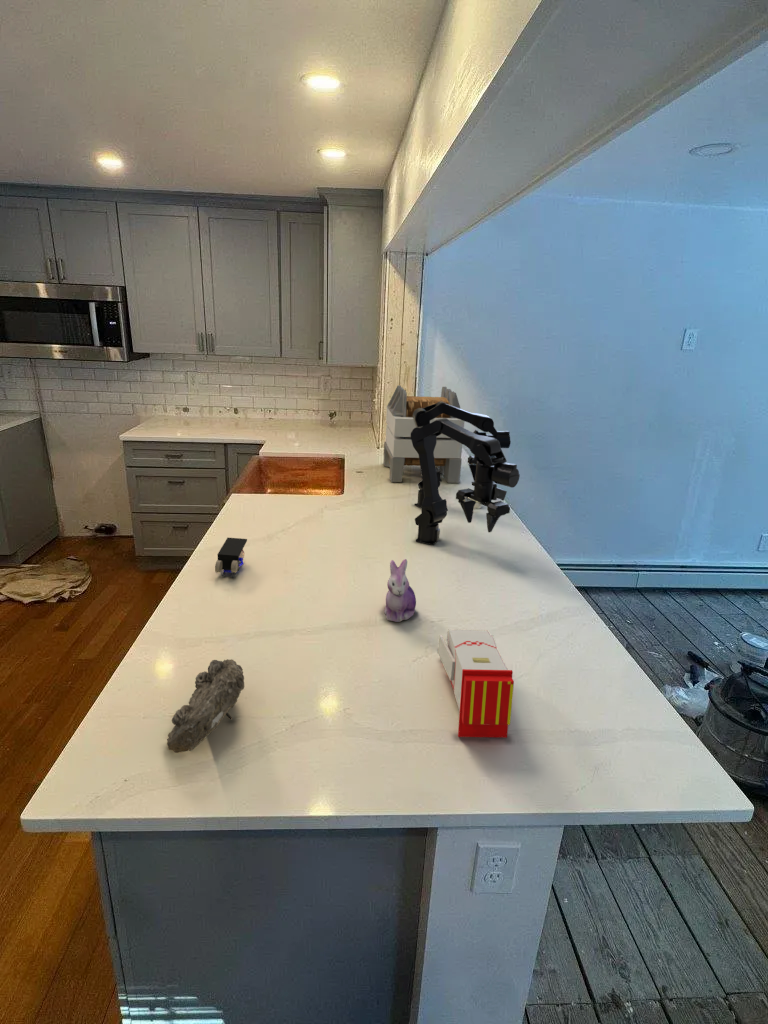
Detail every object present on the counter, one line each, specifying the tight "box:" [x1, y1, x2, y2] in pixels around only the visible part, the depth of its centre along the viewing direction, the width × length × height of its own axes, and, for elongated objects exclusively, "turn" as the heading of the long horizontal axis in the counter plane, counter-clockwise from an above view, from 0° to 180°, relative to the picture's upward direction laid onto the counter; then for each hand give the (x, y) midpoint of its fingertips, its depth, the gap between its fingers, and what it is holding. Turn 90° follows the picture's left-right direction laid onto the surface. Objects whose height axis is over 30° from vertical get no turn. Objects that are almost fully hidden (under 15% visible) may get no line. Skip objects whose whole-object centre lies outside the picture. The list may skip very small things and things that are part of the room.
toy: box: [437, 628, 515, 738], centre depth 117 cm, size 12×13×30 cm
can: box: [474, 502, 483, 509], centre depth 231 cm, size 4×4×4 cm
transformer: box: [383, 384, 465, 484], centre depth 268 cm, size 34×33×41 cm
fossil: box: [166, 658, 245, 754], centre depth 106 cm, size 22×10×15 cm
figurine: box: [384, 558, 417, 623], centre depth 145 cm, size 9×10×15 cm
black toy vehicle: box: [214, 537, 248, 578], centre depth 166 cm, size 7×8×15 cm
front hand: (479, 527), depth 178 cm, fingers open, 9 cm apart
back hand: (478, 485), depth 228 cm, fingers open, 9 cm apart
